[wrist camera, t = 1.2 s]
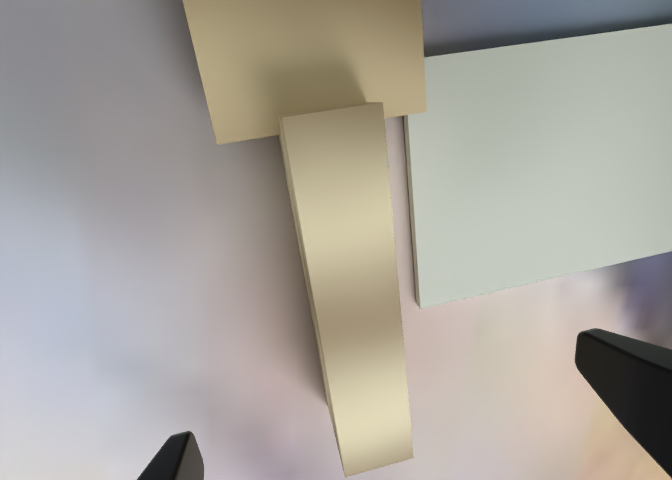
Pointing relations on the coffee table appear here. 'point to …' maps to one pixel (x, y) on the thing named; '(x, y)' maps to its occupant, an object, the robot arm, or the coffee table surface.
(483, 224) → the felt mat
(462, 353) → the coffee table surface
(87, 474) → the coffee table surface
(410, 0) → the spatula
